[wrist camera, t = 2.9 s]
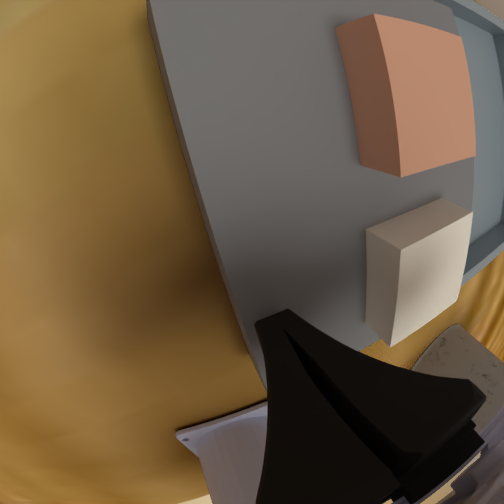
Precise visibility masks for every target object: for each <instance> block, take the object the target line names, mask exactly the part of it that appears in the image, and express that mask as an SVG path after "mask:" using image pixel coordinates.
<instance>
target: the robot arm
mask: <svg viewBox="0 0 504 504" xmlns="http://www.w3.org/2000/svg"><path fill="white" fill-rule="evenodd" d="M254 326H255V330H256V333H257V336H258V339H259V342H260V345H261V349H262V352H263V355H264V362H265V369H266V381H267V401H266V402H263V403H261V404H258V405H256V406H253V407H250V408H248V409H245V410H242V411H240V412H237V413H234V414H231V415H228V416H225V417H222V418H219V419H216V420H213V421H210V422H207V423H203V424H200V425H197V426H193V427H190V428H186V429H182V430H179V431H177V432H176V438H177V439H178V440H179V441H180V442H181V443H182V444H184V445H185V446H186V447H187V448H188V449H189V450H190V451H192V452H193V453H194V454H195V455H196V456H197V457H199V459H200V462H201V466H202V470H203V473H204V477H205V480H206V484H207V487H208V490H209V494H210V497H211V500H212V503H213V504H383V503H384V502H386V501H388V500H389V499H392V501H393V503H392V504H420V503H421V502H423V501H424V500H425V499H427V498H428V497H429V496H431V495H432V494H433V493H435V492H436V491H437V490H438V489H440V488H441V487H442V486H443V485H444V484H445V483H447V482H448V481H449V480H450V479H451V478H453V477H454V476H455V475H456V474H457V473H458V472H459V471H461V470H462V469H463V468H464V467H465V466H466V465H467V464H468V463H469V462H470V461H471V460H472V459H473V458H474V457H475V456H476V455H477V454H478V453H479V452H480V451H481V456H480V458H479V459H477V460H476V461H475V462H474V463H473V464H471V465H470V466H469V467H468V468H467V469H466V470H464V471H463V473H461V474H460V475H459V476H458V477H457V478H456V479H455V480H454V481H453V482H452V483H451V487H452V488H453V491H452V492H451V493H449V494H448V495H447V496H445V497H444V498H443V499H442V500H440V501H439V502H438V503H436V504H504V405H503V406H502V407H501V409H500V410H499V411H498V412H497V413H496V415H495V416H494V417H493V418H492V419H491V420H490V421H489V422H488V424H487V425H486V426H485V427H484V428H483V429H482V430H481V431H480V432H479V433H477V432H476V431H475V430H474V428H475V427H476V424H475V423H474V422H473V420H472V418H473V417H474V415H475V414H476V413H477V412H478V410H479V409H480V408H481V406H482V405H483V404H484V402H485V401H486V395H485V394H484V393H483V392H482V391H481V390H480V389H479V388H478V387H477V386H476V385H475V384H474V383H473V382H472V381H470V380H469V379H461V378H450V377H441V376H435V375H429V374H424V373H420V372H416V371H412V370H408V369H405V368H401V367H397V366H394V365H391V364H388V363H385V362H382V361H380V360H377V359H375V358H372V357H370V356H367V355H365V354H363V353H361V352H359V351H356V350H354V349H352V348H350V347H348V346H346V345H345V344H343V343H341V342H339V341H337V340H335V339H334V338H332V337H330V336H329V335H327V334H325V333H324V332H322V331H320V330H319V329H317V328H316V327H314V326H313V325H311V324H310V323H308V322H307V321H305V320H304V319H303V318H301V317H300V316H298V315H297V314H296V313H294V312H293V311H292V310H290V309H285V310H283V311H280V312H278V313H276V314H273V315H271V316H268V317H266V318H263V319H261V320H258V321H256V322H255V324H254Z"/></svg>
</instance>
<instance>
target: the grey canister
mask: <svg viewBox="0 0 504 504" xmlns="http://www.w3.org/2000/svg"><path fill="white" fill-rule="evenodd" d="M411 370H412V371H416V372H420V373H424V374H429V375H435V376H441V377H450V378H461V379H469V380H470V381H472V382H473V383H474V384H475V385H476V386H477V387H478V388H479V389H480V390H481V391H482V392H483V393H484V394H485V395H486V401H485V402H484V404H483V405H482V406H481V408H480V409H479V410H478V412H477V413H476V414H475V415H474V417H473V418H472V420H473V422H474V423H475V424H476V427H475V428H474V430H475V431H476V432H477V433H479V432H480V431H481V430H482V429H483V428H484V427H485V426H486V425H487V424H488V422H489V421H490V420H491V419H492V418H493V417H494V416H495V415H496V413H497V412H498V411H499V410H500V409H501V407H502V406H503V405H504V363H503V362H502V361H501V360H499V359H498V358H497V357H496V356H495V355H494V354H493V353H492V352H490V351H489V350H488V349H487V348H486V347H485V346H483V345H482V344H481V343H480V342H479V341H478V340H476V339H475V338H474V337H473V336H472V335H470V334H469V333H468V332H467V331H466V330H464V329H463V328H462V326H461V325H460V324H455V325H452V326H450V327H449V328H447V329H446V330H445V331H443V332H442V333H441V334H440V335H439V336H438V337H437V338H436V339H435V340H434V341H433V342H432V343H431V344H430V345H429V346H428V347H427V348H426V350H425V351H424V352H423V353H422V355H421V356H420V357H419V358H418V360H417V361H416V363H415V364H414V365H413V367H412V369H411Z"/></svg>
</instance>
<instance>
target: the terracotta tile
mask: <svg viewBox="0 0 504 504" xmlns="http://www.w3.org/2000/svg"><path fill="white" fill-rule="evenodd" d="M335 31H336V34H337V38H338V42H339V46H340V50H341V54H342V58H343V62H344V67H345V71H346V76H347V81H348V86H349V91H350V96H351V101H352V107H353V113H354V119H355V125H356V132H357V139H358V146H359V154H360V163H361V166H364V167H368V168H371V169H374V170H378V171H381V172H385V173H388V174H391V175H394V176H397V177H405V176H408V175H411V174H415V173H418V172H421V171H425V170H428V169H432V168H435V167H438V166H442V165H445V164H449V163H452V162H456V161H459V160H463V159H466V158H470V157H474V156H476V138H475V120H474V108H473V98H472V90H471V83H470V77H469V71H468V65H467V60H466V55H465V50H464V46H463V42H462V38H461V37H460V36H457V35H454V34H451V33H449V32H446V31H443V30H439V29H436V28H433V27H430V26H426V25H423V24H419V23H415V22H411V21H407V20H403V19H399V18H394V17H389V16H384V15H379V14H371V15H368V16H365V17H362V18H359V19H357V20H354V21H351V22H348V23H346V24H343V25H341V26H338V27H336V28H335Z"/></svg>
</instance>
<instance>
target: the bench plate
mask: <svg viewBox="0 0 504 504" xmlns="http://www.w3.org/2000/svg"><path fill="white" fill-rule="evenodd" d="M146 3H147V17H148V22H149V26H150V30H151V35H152V39H153V43H154V47H155V51H156V55H157V59H158V63H159V67H160V71H161V75H162V79H163V83H164V87H165V91H166V94H167V98H168V102H169V105H170V109H171V113H172V116H173V120H174V124H175V127H176V131H177V134H178V138H179V141H180V145H181V148H182V152H183V155H184V159H185V162H186V165H187V169H188V172H189V175H190V179H191V182H192V185H193V189H194V192H195V195H196V198H197V202H198V205H199V208H200V211H201V214H202V218H203V221H204V224H205V227H206V230H207V233H208V236H209V239H210V242H211V245H212V249H213V252H214V255H215V258H216V261H217V264H218V267H219V270H220V273H221V276H222V278H223V281H224V284H225V287H226V290H227V293H228V296H229V299H230V302H231V305H232V307H233V310H234V313H235V316H236V319H237V322H238V324H239V327H240V330H241V333H242V335H243V338H244V341H245V344H246V346H247V349H248V352H249V355H250V357H251V359H252V361H253V363H254V365H255V368H256V370H257V372H258V374H259V376H260V378H261V381H262V383H263V385H264V387H265V389H266V391H267V381H266V369H265V362H264V355H263V352H262V349H261V345H260V342H259V339H258V336H257V333H256V330H255V326H254V324H255V322H256V321H258V320H261V319H263V318H266V317H268V316H271V315H273V314H276V313H278V312H280V311H283V310H285V309H290V310H292V311H293V312H294V313H296V314H297V315H298V316H300V317H301V318H303V319H304V320H305V321H307V322H308V323H310V324H311V325H313V326H314V327H316V328H317V329H319V330H320V331H322V332H324V333H325V334H327V335H329V336H330V337H332V338H334V339H335V340H337V341H339V342H341V343H343V344H345V345H346V346H348V347H350V348H352V349H354V350H356V351H360V350H362V349H364V348H366V347H367V346H369V345H371V344H373V343H374V342H376V341H378V340H379V339H381V338H380V337H379V336H378V335H377V334H376V333H375V332H374V331H373V330H372V329H371V328H370V327H369V326H368V325H367V324H366V323H365V319H366V286H367V260H366V229H367V228H370V227H372V226H375V225H377V224H379V223H382V222H384V221H387V220H389V219H392V218H394V217H397V216H399V215H402V214H404V213H406V212H409V211H411V210H414V209H416V208H419V207H421V206H423V205H426V204H428V203H431V202H433V201H435V200H438V199H440V198H442V199H445V200H447V201H449V202H452V203H454V204H457V205H459V206H461V207H464V208H466V209H468V210H471V211H472V200H473V184H474V157H470V158H466V159H463V160H459V161H456V162H452V163H449V164H445V165H442V166H438V167H435V168H432V169H428V170H425V171H421V172H418V173H415V174H411V175H408V176H405V177H397V176H394V175H391V174H388V173H385V172H381V171H378V170H374V169H371V168H368V167H364V166H361V163H360V154H359V146H358V139H357V132H356V125H355V119H354V113H353V107H352V101H351V96H350V91H349V86H348V81H347V76H346V71H345V67H344V62H343V58H342V54H341V50H340V46H339V42H338V38H337V34H336V31H335V28H336V27H338V26H341V25H343V24H346V23H348V22H351V21H354V20H357V19H359V18H362V17H365V16H368V15H371V14H379V15H384V16H389V17H394V18H399V19H403V20H407V21H411V22H415V23H419V24H423V25H426V26H430V27H433V28H436V29H439V30H443V31H446V32H449V33H451V34H454V35H457V36H459V33H458V29H457V26H456V22H455V19H454V15H453V12H452V9H451V8H450V7H448V6H445V5H443V4H441V3H438V2H436V1H434V0H146Z"/></svg>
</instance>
